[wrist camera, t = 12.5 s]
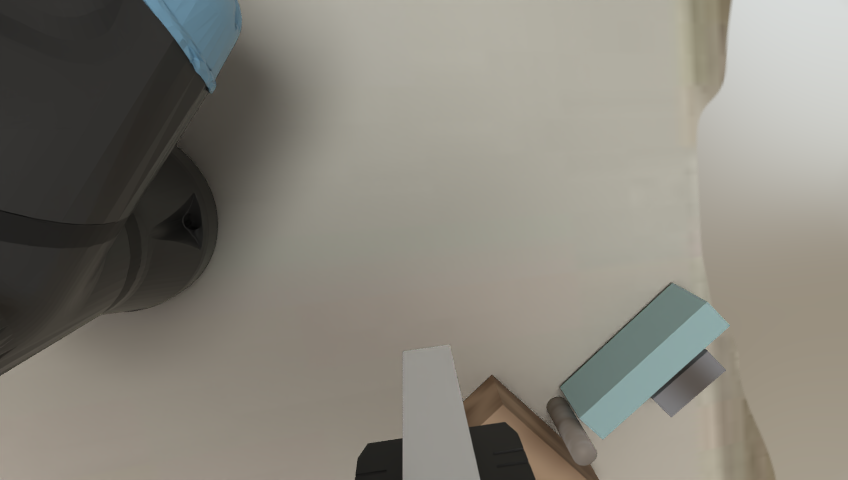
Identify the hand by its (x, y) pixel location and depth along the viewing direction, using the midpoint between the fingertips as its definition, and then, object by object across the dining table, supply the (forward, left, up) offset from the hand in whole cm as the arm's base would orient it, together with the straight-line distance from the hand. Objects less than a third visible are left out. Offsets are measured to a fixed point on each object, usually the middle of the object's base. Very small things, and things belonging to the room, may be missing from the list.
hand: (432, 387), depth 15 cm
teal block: (+6, -22, -26) cm, 35 cm away
